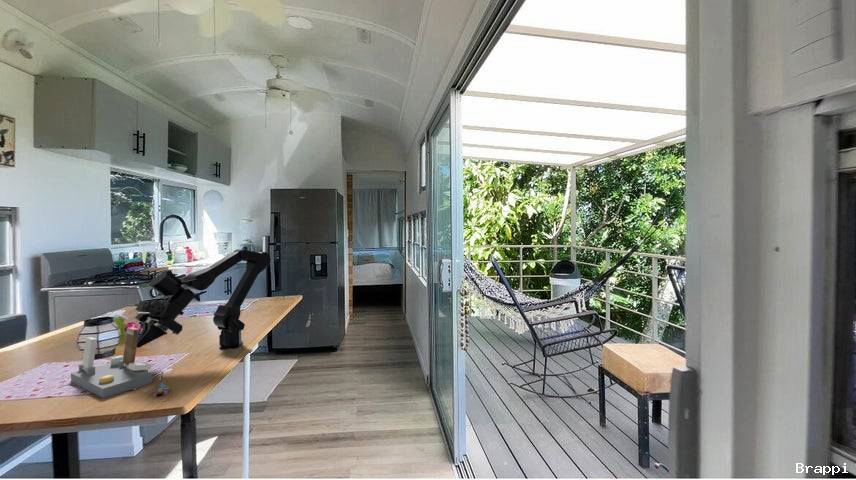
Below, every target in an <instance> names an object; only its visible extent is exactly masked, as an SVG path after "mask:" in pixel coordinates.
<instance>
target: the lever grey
mask: <svg viewBox="0 0 856 480" xmlns="http://www.w3.org/2000/svg"><path fill="white" fill-rule="evenodd" d="M97 341H98V339H97V338H95V337H92V336H90V337H86V338H85V343H84V345H85V346H84V350H83V358H82V363H81V364H82V366H84V368H86V369H87V368H89V367H93V366H94V362H95V357H96V350H97V349H96V348H97Z"/></svg>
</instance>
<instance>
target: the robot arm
mask: <svg viewBox="0 0 856 480" xmlns="http://www.w3.org/2000/svg"><path fill="white" fill-rule="evenodd" d="M242 261H244V262H246V264H245V265H246V266H245V267H246V269H245V272H244V273H243V275H242V276H241V278H240V279H239V282H238V284H237V285H236V287H235V289H234V290H233V292H232V294H231V295H230V298H229V300H228V301H227V302H226V303H225V304H224V305H222V304H219V305H218V306H217V309H216V311H215V312H214V313H213V318H212V321H213V324H214V326H216V327H217V329H218V330H219V331H220V334H219V335H218V338H219V343H218V344H219V348H218V349H219V350H222V349H223V350H224V349H236V348H239V347H240V346H242V344H243V342H244V341H243V340H242V331H243V330H244V328H245V325H246V324H245V323H244V322H243V321H242V320H240V317H241V307H242V305H243V303H244V302H245V300H246V298H247V296H248V294H249V292H250V291H251V289H252V287H253V285H254V283H255V281H256V279H257V278H258V276H259V274H260V273H262V272H263V271H265V270H266V269H267V267H268V266H269V265H270V263H271V261H272V258H271V255H270V254H269V253H268V252H266V251H252V250H249V249H246V248H236V249H234V250H233V251H232V252H231V253H229V254H227V255H226V256H224V257H223V258H221V259H219V260H218V261H216V262H214V263H212V264H211V265H209V266H208V267H206V268H202V269H198V270H196V271H193V272H191V273H189V274H188V275H186V276H185V277H182V278H179V277H177V276H176V274H175V275H174V273H173V272H172V271H171V270H164V271H163V272H161V273H159V274H158V275H157V276H154V277H153V278H152V279H151V280H150V281H149V284H148V285H149V287H150V288H152V289H153V290H154V291H156V292H157V293H159V294H160V295H162V296H163V297H168V296H169V298H168V299H167V300H166V301H160V300H157V299H154V300H152V301H146V300H139V302H138V303H137V306H136V309H135V311H139V313H138V314H137V315H136V316H135V317H134V319H135V320H137V321H138V322H140V324H142V330H141V333H139V335H138V340H137V348H136V349H140V348H141V347H143V346H145V345H147V344H149V343H150V342H153V341H154V340H157V339H159V338H161V337H164V336H165V335H168V334H169V333H167V331H168V330H170V331H171V332H172V334H174V335H177V336H178V335H180V333H181V332H182V331H183V325H182V324H181V323H179V322H178V321H176V319H177V318H178V317H179V316H183V315H184V314H185V312H184V310H185V309H186V308H187V307H188V305H190V303H192V301H194V302H201V296H200V295H201V294H200V293H199V292H194V291H204V290H206V289H208V288H210V286H211V285H212V284H213V283H215V280H216V279H217V278H218V277H219V276H220V275H222V274H223V273H224V272H227V271H229V270H230V269H231V268H233V267H234V266H236V265H237V264H239V263H240V262H242ZM184 287H186V288H184ZM193 290H194V291H193Z"/></svg>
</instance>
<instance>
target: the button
mask: <svg viewBox="0 0 856 480" xmlns="http://www.w3.org/2000/svg"><path fill="white" fill-rule="evenodd" d="M123 356H124V354H123V355H116V356H112V357H110V363H111V366H119V361H121V360H123Z"/></svg>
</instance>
